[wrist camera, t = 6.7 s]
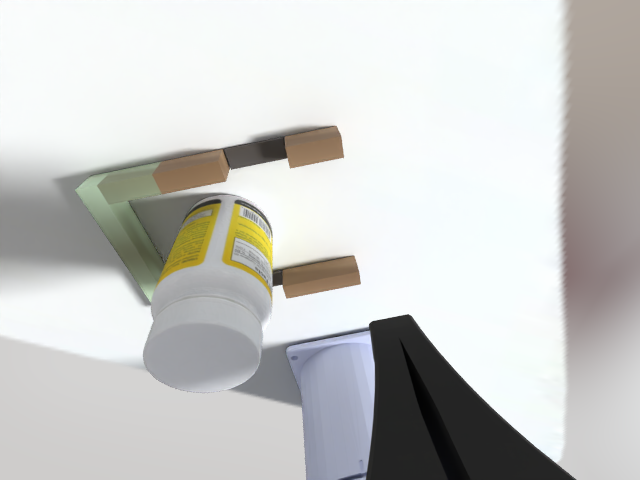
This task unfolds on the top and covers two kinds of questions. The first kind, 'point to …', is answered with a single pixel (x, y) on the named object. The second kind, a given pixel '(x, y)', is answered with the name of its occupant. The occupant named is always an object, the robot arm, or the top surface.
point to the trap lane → (199, 170)
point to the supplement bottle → (213, 298)
